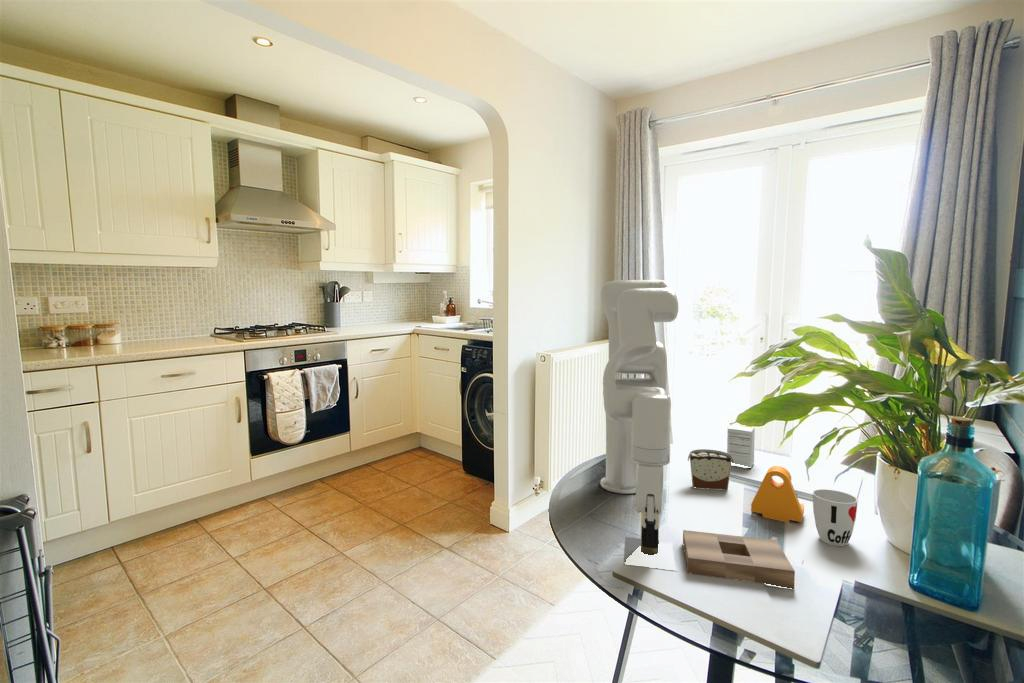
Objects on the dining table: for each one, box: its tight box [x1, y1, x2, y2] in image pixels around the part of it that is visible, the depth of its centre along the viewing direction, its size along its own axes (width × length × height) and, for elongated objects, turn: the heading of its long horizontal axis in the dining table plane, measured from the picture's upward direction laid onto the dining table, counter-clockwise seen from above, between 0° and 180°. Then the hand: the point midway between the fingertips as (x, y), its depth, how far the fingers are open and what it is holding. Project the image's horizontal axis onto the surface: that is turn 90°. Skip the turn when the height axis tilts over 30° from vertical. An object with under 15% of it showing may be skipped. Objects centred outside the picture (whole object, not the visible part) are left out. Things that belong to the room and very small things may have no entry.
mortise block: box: [682, 529, 796, 590], centre depth 93 cm, size 12×18×4 cm, turn 74°
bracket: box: [750, 465, 805, 523], centre depth 116 cm, size 11×7×12 cm, turn 54°
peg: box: [640, 509, 660, 555], centre depth 97 cm, size 4×4×11 cm
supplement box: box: [726, 424, 756, 468], centre depth 155 cm, size 7×7×13 cm
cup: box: [812, 488, 858, 547], centre depth 103 cm, size 8×8×10 cm
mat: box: [623, 536, 641, 563], centre depth 97 cm, size 12×10×1 cm
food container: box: [687, 448, 734, 491], centre depth 136 cm, size 12×6×10 cm, turn 80°
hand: (649, 539), depth 97 cm, fingers open, 5 cm apart
